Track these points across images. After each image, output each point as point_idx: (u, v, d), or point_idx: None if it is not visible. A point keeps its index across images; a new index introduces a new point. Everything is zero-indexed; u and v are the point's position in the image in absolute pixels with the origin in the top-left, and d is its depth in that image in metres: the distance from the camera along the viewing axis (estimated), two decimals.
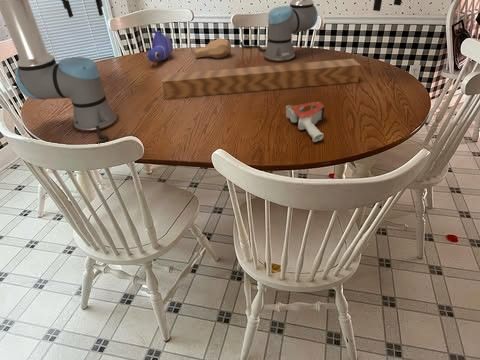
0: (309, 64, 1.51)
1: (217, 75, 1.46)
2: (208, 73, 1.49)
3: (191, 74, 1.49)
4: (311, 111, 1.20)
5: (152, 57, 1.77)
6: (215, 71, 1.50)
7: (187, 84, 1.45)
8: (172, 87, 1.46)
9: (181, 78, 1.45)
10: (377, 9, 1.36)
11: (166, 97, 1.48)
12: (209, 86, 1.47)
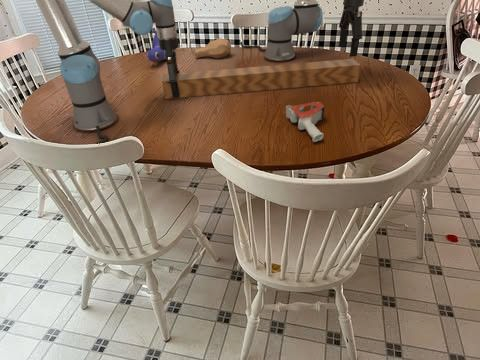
0: (309, 64, 1.51)
1: (217, 75, 1.46)
2: (208, 73, 1.49)
3: (191, 74, 1.49)
4: (311, 111, 1.20)
5: (152, 57, 1.77)
6: (215, 71, 1.50)
7: (187, 84, 1.45)
8: None
9: (181, 78, 1.45)
10: (355, 54, 1.42)
11: (166, 97, 1.48)
12: (209, 86, 1.47)
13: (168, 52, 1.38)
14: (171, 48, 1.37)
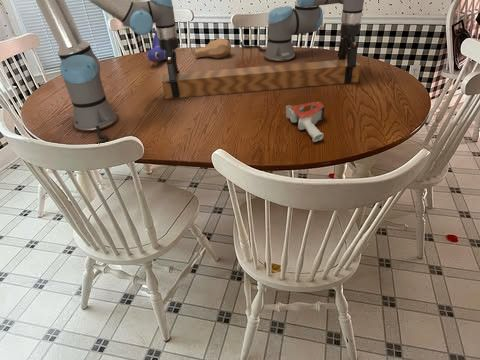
0: (309, 64, 1.51)
1: (217, 75, 1.46)
2: (208, 73, 1.49)
3: (191, 74, 1.49)
4: (311, 111, 1.20)
5: (152, 57, 1.77)
6: (215, 71, 1.50)
7: (187, 84, 1.45)
8: None
9: (181, 78, 1.45)
10: (349, 81, 1.50)
11: (166, 97, 1.48)
12: (209, 86, 1.47)
13: (168, 52, 1.38)
14: (171, 48, 1.37)
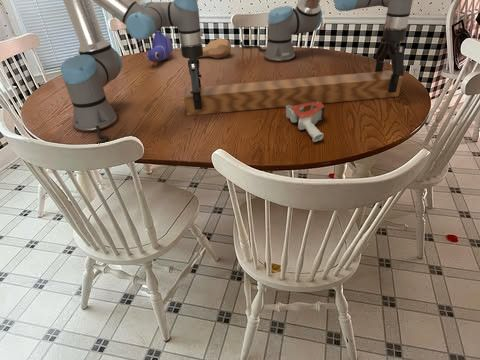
0: (345, 77, 1.37)
1: (245, 90, 1.32)
2: (234, 86, 1.35)
3: (215, 88, 1.35)
4: (311, 111, 1.20)
5: (152, 57, 1.77)
6: (242, 85, 1.36)
7: (211, 100, 1.32)
8: None
9: (205, 93, 1.31)
10: (394, 90, 1.33)
11: (188, 114, 1.34)
12: (235, 102, 1.33)
13: (192, 60, 1.23)
14: (195, 56, 1.22)
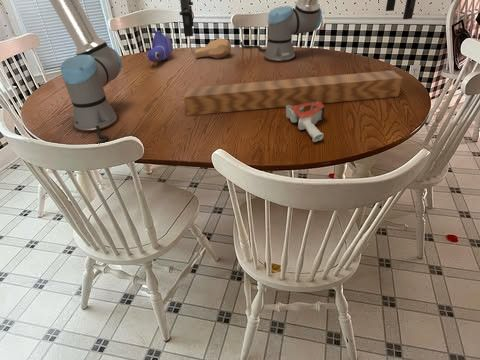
0: (345, 77, 1.37)
1: (245, 90, 1.32)
2: (234, 86, 1.35)
3: (215, 88, 1.35)
4: (311, 111, 1.20)
5: (152, 57, 1.77)
6: (242, 85, 1.36)
7: (211, 100, 1.32)
8: (195, 103, 1.32)
9: (205, 93, 1.31)
10: (409, 17, 1.18)
11: (188, 114, 1.34)
12: (235, 102, 1.33)
13: None
14: None
